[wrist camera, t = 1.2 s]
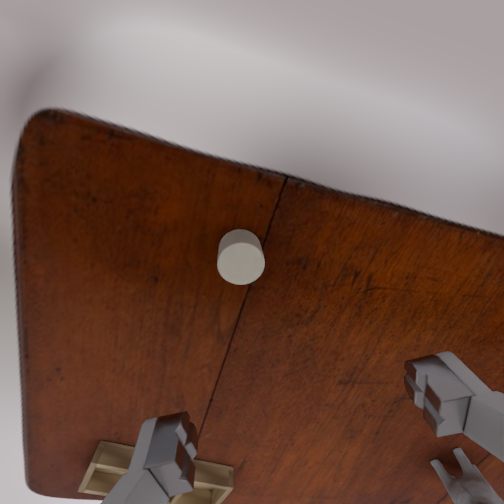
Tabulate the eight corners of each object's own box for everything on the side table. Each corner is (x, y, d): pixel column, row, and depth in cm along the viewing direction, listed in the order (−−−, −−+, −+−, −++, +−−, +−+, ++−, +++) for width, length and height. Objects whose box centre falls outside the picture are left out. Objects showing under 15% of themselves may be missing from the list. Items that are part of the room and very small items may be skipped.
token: (211, 257, 22) (209, 274, 20) (229, 221, 21) (229, 234, 18) (248, 273, 23) (251, 291, 21) (268, 239, 22) (273, 254, 19)
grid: (87, 468, 33) (77, 492, 31) (100, 439, 31) (90, 462, 29) (214, 490, 38) (213, 512, 36) (233, 466, 36) (233, 488, 34)
